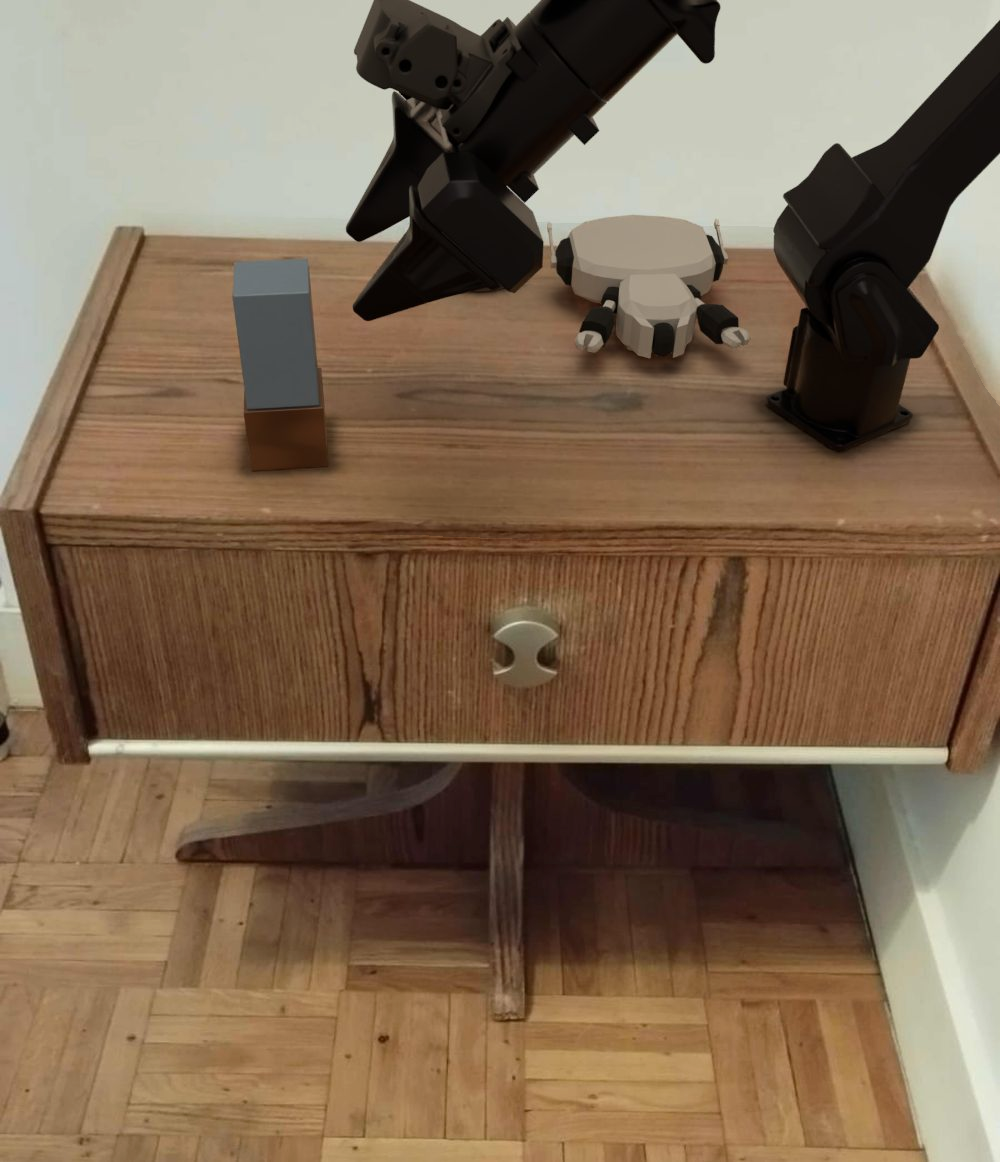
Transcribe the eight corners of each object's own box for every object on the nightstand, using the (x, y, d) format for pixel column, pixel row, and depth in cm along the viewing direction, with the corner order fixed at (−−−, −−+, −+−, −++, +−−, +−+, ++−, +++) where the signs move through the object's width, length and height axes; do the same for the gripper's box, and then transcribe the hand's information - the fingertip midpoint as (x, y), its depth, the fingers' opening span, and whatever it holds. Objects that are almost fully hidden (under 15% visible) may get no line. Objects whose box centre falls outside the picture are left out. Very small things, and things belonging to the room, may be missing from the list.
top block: (317, 369, 75) (308, 257, 71) (319, 405, 72) (309, 292, 68) (248, 372, 75) (234, 261, 70) (247, 410, 72) (232, 295, 67)
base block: (326, 424, 78) (321, 367, 75) (328, 466, 74) (323, 407, 72) (252, 429, 77) (244, 371, 75) (251, 471, 74) (243, 412, 71)
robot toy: (753, 382, 84) (709, 262, 94) (765, 323, 81) (718, 205, 91) (566, 388, 83) (543, 266, 94) (570, 328, 80) (546, 208, 90)
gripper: (434, -114, 66) (240, 107, 72) (476, -7, 52) (230, 257, 58) (576, 42, 72) (386, 234, 78) (648, 175, 58) (409, 398, 64)
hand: (355, 273), depth 69 cm, fingers open, 9 cm apart
